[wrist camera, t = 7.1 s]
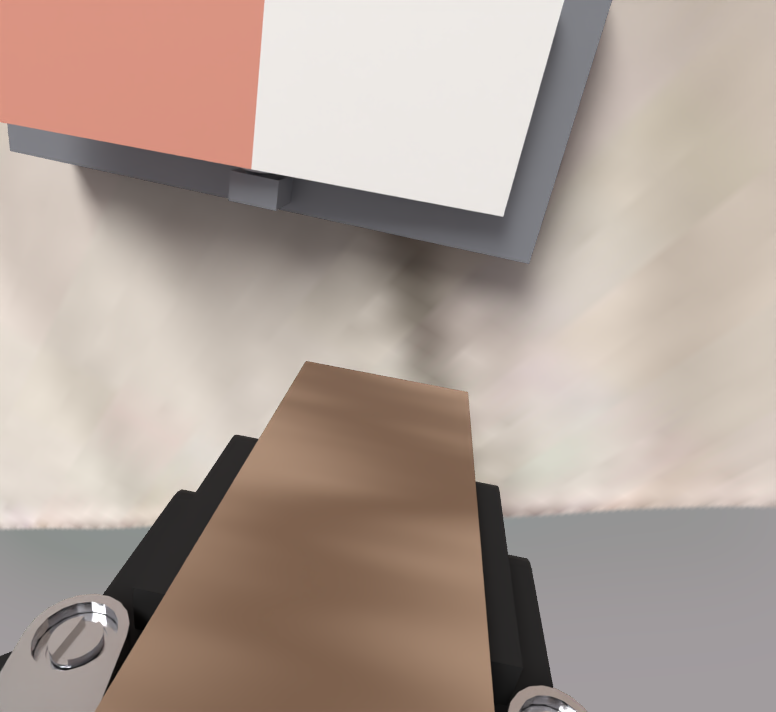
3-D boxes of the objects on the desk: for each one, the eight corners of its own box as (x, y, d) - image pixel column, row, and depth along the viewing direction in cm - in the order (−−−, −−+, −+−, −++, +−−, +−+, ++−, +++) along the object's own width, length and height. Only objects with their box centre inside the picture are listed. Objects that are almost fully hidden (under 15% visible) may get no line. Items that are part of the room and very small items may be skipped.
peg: (467, 392, 13) (506, 859, 5) (435, 520, 14) (421, 1037, 6) (306, 361, 13) (63, 764, 5) (291, 492, 15) (90, 963, 6)
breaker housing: (602, -36, 22) (653, -85, 17) (518, 244, 27) (536, 277, 22) (49, -151, 23) (-83, -237, 17) (67, 146, 28) (-29, 154, 22)
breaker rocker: (551, -15, 20) (571, -25, 18) (490, 211, 23) (501, 221, 22) (-37, -166, 17) (-83, -196, 15) (-5, 118, 21) (-38, 120, 19)
